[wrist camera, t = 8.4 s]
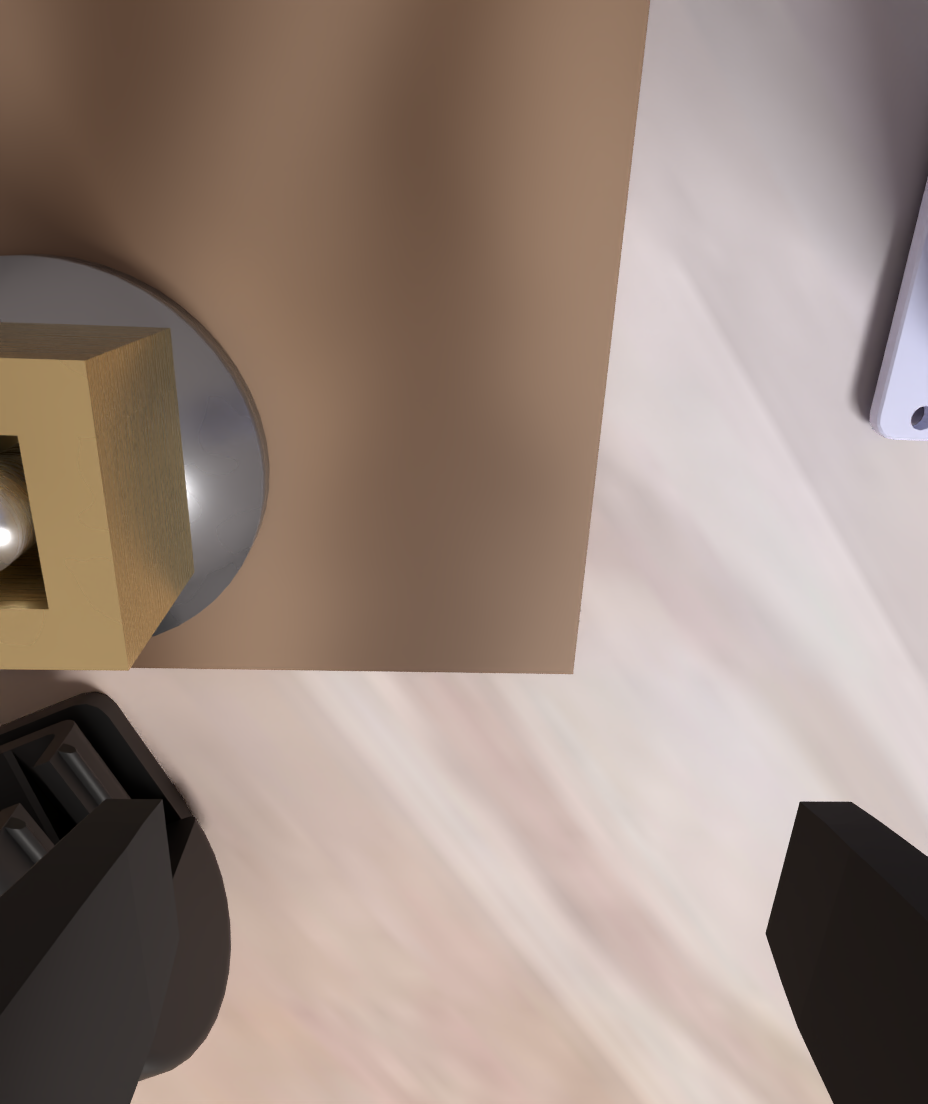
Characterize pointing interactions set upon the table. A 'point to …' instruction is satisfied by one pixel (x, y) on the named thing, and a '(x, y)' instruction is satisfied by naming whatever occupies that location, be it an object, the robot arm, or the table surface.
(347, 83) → the board
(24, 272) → the stand
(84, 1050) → the robot arm
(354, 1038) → the table surface
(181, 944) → the end cap
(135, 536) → the collar
